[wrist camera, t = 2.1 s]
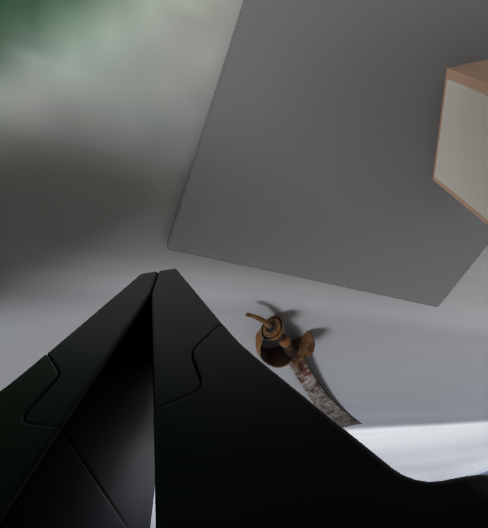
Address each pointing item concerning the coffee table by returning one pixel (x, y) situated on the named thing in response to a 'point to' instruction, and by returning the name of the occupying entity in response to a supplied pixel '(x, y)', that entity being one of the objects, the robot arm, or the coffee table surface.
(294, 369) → the sword
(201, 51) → the coffee table surface
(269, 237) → the mat
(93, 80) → the coffee table surface
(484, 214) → the tile
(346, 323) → the coffee table surface
